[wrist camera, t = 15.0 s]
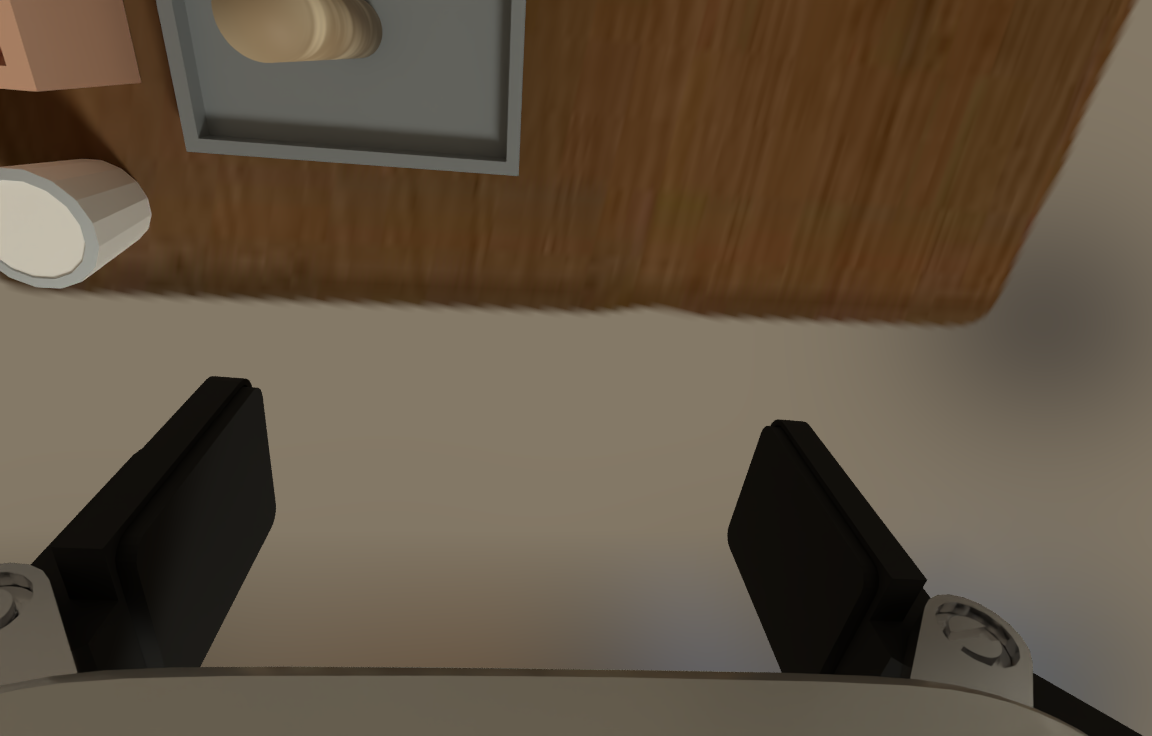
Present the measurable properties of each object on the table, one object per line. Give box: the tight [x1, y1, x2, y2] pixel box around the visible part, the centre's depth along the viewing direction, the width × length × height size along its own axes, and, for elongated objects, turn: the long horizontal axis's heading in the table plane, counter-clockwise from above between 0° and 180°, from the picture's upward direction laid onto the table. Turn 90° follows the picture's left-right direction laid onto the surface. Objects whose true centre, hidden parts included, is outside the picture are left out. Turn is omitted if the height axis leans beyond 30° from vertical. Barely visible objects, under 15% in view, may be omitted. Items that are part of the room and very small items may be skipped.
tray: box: [156, 0, 526, 176], centre depth 35 cm, size 20×15×2 cm
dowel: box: [211, 0, 382, 63], centre depth 28 cm, size 3×3×15 cm
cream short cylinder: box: [0, 159, 152, 288], centre depth 36 cm, size 7×7×7 cm
